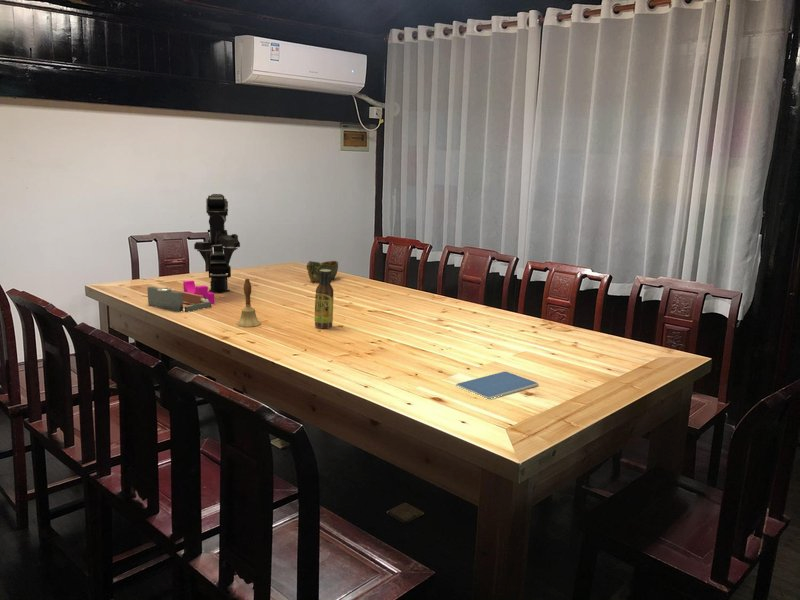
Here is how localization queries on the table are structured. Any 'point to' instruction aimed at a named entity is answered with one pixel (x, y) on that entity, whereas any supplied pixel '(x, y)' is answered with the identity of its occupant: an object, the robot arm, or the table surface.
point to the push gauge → (171, 300)
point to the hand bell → (248, 309)
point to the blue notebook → (497, 384)
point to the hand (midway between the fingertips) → (218, 266)
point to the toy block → (198, 290)
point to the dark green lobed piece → (316, 267)
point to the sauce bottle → (324, 300)
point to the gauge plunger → (192, 297)
